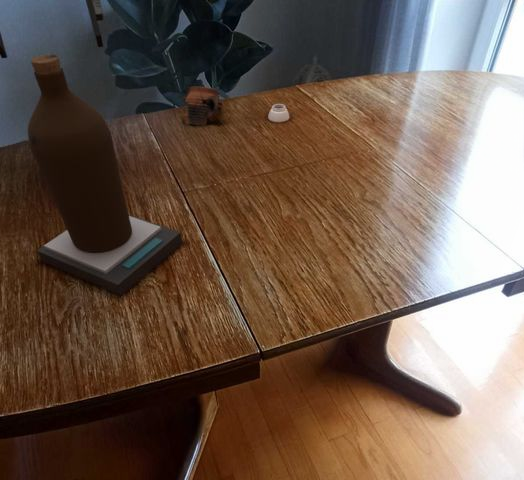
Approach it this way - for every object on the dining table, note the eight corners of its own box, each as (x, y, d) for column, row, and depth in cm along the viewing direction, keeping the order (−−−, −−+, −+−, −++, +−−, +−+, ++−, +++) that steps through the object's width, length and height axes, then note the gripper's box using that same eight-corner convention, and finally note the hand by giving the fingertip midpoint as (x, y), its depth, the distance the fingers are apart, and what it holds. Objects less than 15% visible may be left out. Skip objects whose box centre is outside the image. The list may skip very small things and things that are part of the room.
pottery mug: (173, 124, 110) (175, 85, 108) (204, 131, 117) (206, 95, 114) (207, 123, 103) (209, 81, 100) (237, 131, 110) (240, 92, 107)
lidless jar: (284, 113, 112) (265, 117, 111) (284, 100, 110) (264, 104, 109) (292, 121, 109) (273, 125, 108) (293, 108, 107) (273, 112, 105)
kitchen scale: (42, 263, 74) (35, 247, 72) (107, 218, 83) (102, 202, 81) (122, 297, 68) (116, 281, 66) (183, 245, 77) (180, 229, 75)
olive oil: (121, 259, 70) (64, 75, 51) (56, 252, 71) (-22, 71, 52) (145, 220, 77) (103, 45, 58) (86, 215, 78) (26, 43, 59)
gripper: (-104, -131, 59) (-54, 40, 60) (96, -137, 64) (137, 20, 66) (-75, -79, 66) (-32, 72, 68) (102, -89, 71) (139, 52, 73)
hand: (51, 47), depth 67 cm, fingers open, 13 cm apart
